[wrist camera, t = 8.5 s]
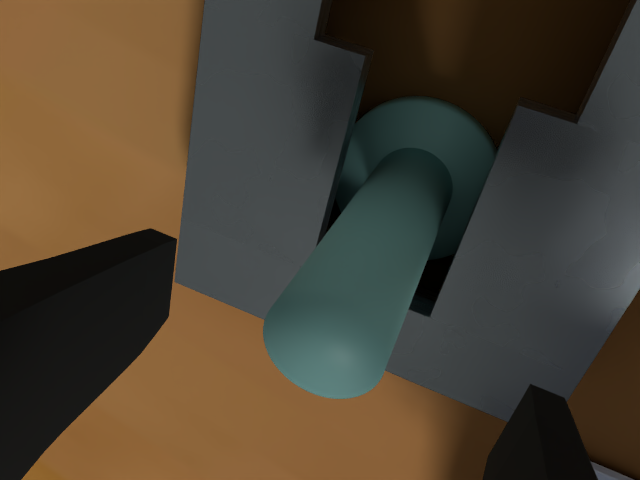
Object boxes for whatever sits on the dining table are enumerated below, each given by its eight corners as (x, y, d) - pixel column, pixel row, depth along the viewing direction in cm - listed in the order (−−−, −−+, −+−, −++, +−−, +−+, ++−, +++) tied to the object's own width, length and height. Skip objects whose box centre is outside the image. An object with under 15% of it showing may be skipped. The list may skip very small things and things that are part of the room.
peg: (461, 272, 19) (401, 487, 12) (322, 211, 20) (184, 379, 13) (532, 134, 16) (511, 303, 9) (368, 70, 17) (227, 179, 10)
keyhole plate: (545, 363, 20) (543, 437, 17) (224, 235, 22) (174, 281, 19) (901, -242, 11) (1018, -299, 8) (316, -353, 13) (250, -428, 10)
